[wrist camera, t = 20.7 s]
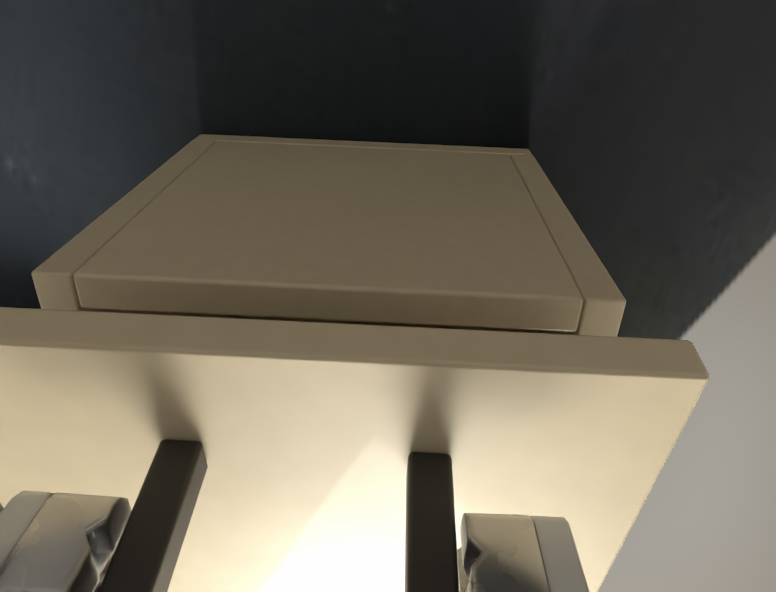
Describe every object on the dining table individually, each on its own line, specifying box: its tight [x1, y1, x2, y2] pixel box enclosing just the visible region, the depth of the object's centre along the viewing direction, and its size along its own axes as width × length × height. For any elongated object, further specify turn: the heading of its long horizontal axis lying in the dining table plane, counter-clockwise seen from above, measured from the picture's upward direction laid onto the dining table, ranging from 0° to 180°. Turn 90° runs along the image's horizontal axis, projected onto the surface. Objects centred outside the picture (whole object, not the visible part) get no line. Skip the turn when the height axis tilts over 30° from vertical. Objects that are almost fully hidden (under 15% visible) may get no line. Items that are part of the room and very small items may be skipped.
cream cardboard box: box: [32, 134, 626, 337], centre depth 20 cm, size 15×12×11 cm
